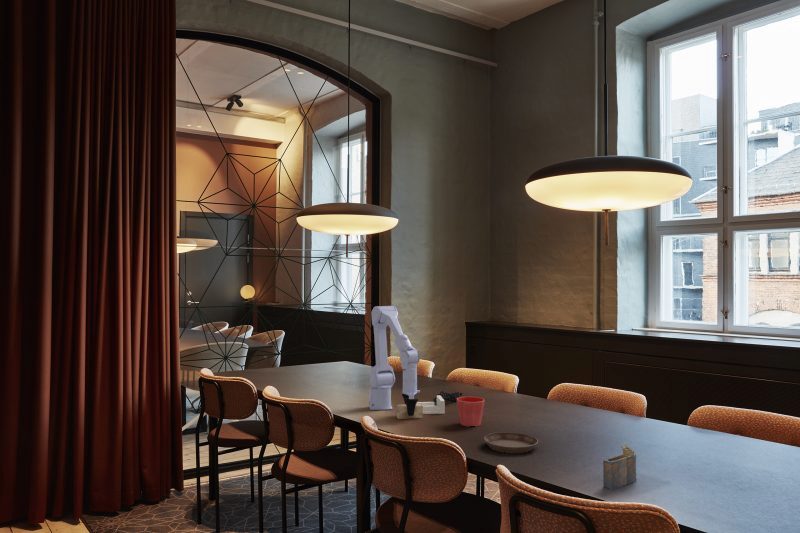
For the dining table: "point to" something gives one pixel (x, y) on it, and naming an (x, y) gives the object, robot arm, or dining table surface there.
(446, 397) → the decorative element
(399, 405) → the tan block
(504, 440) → the plant saucer
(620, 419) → the dining table surface
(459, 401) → the flower pot
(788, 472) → the dining table surface
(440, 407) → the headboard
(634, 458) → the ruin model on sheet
